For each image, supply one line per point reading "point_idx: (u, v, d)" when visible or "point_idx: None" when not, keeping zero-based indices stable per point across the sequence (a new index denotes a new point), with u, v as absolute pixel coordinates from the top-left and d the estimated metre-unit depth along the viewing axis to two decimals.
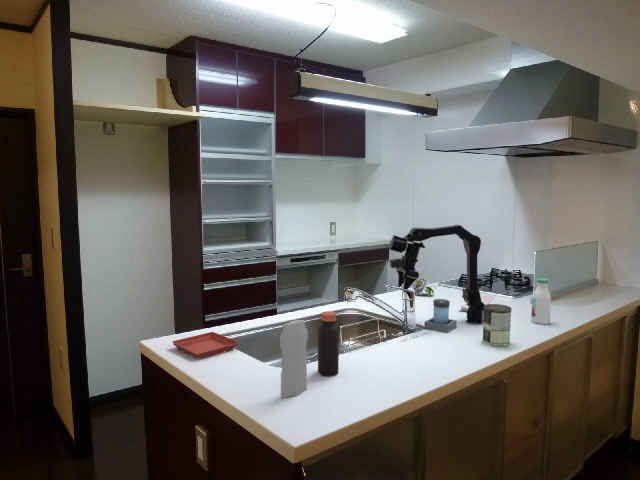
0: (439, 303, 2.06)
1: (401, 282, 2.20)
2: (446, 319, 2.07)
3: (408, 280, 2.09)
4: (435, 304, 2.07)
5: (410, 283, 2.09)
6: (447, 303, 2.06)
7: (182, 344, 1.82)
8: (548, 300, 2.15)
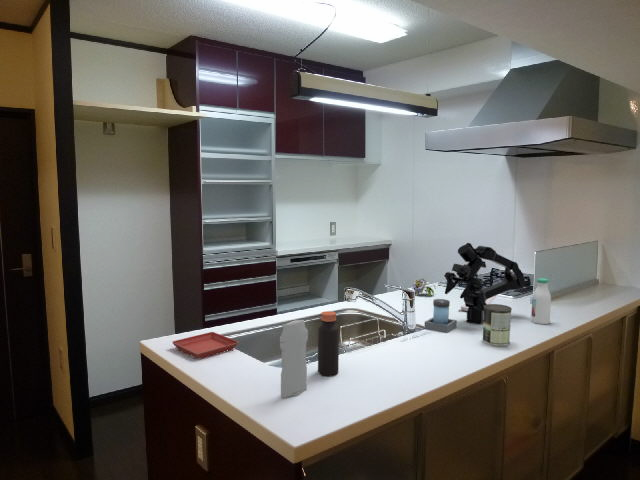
0: (439, 303, 2.06)
1: (448, 290, 2.16)
2: (446, 319, 2.07)
3: (469, 289, 2.08)
4: (435, 304, 2.07)
5: (469, 292, 2.08)
6: (447, 303, 2.06)
7: (182, 344, 1.82)
8: (548, 300, 2.15)
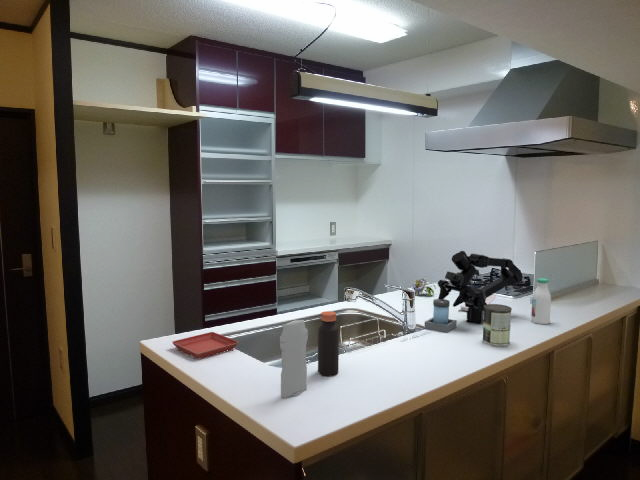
0: (439, 303, 2.06)
1: (441, 298, 2.15)
2: (446, 319, 2.07)
3: (462, 297, 2.06)
4: (435, 304, 2.07)
5: (462, 301, 2.06)
6: (447, 303, 2.06)
7: (182, 344, 1.82)
8: (548, 300, 2.15)
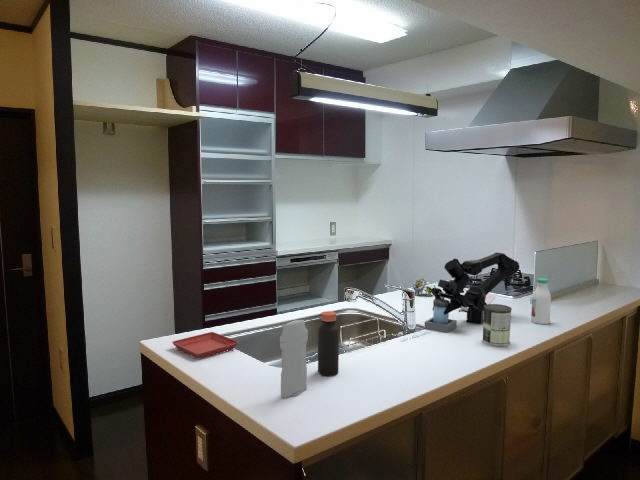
0: (439, 303, 2.06)
1: None
2: (446, 319, 2.07)
3: (453, 305, 2.06)
4: (435, 304, 2.07)
5: (453, 309, 2.06)
6: (447, 303, 2.06)
7: (182, 344, 1.82)
8: (548, 300, 2.15)
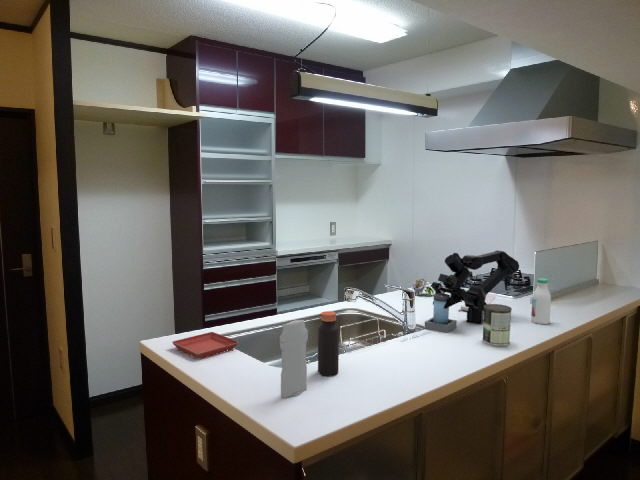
0: (439, 297, 2.05)
1: None
2: (446, 313, 2.06)
3: (453, 299, 2.06)
4: (435, 298, 2.07)
5: (453, 303, 2.06)
6: (447, 297, 2.06)
7: (182, 344, 1.82)
8: (548, 300, 2.15)
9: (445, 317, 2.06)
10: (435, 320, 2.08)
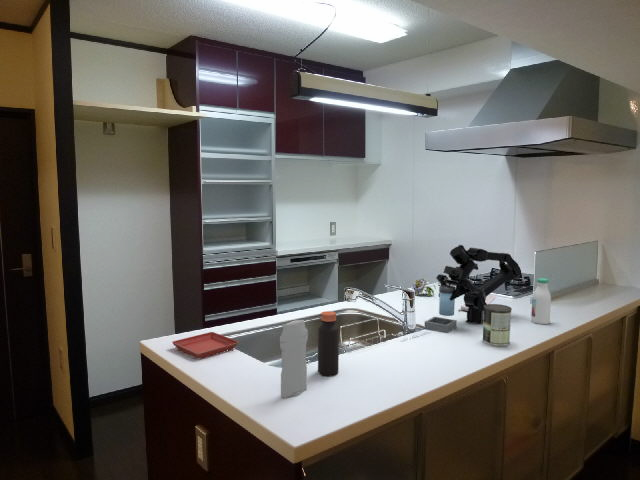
0: (445, 289, 2.06)
1: None
2: (452, 305, 2.08)
3: (459, 291, 2.07)
4: (441, 290, 2.08)
5: (459, 295, 2.07)
6: (453, 289, 2.07)
7: (182, 344, 1.82)
8: (548, 300, 2.15)
9: (451, 309, 2.08)
10: (441, 312, 2.09)
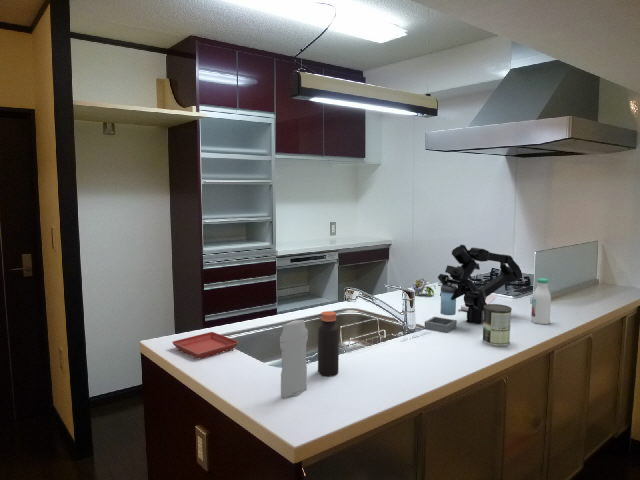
0: (446, 289, 2.07)
1: None
2: (453, 304, 2.08)
3: (460, 290, 2.07)
4: (442, 290, 2.08)
5: (460, 294, 2.07)
6: (454, 289, 2.07)
7: (182, 344, 1.82)
8: (548, 300, 2.15)
9: (452, 308, 2.08)
10: (442, 311, 2.09)
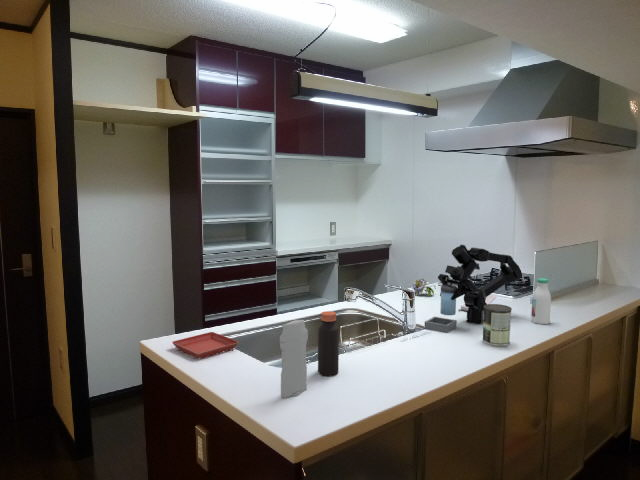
0: (446, 289, 2.07)
1: None
2: (453, 304, 2.08)
3: (460, 290, 2.07)
4: (442, 290, 2.08)
5: (460, 294, 2.07)
6: (454, 289, 2.07)
7: (182, 344, 1.82)
8: (548, 300, 2.15)
9: (452, 308, 2.08)
10: (442, 311, 2.09)
